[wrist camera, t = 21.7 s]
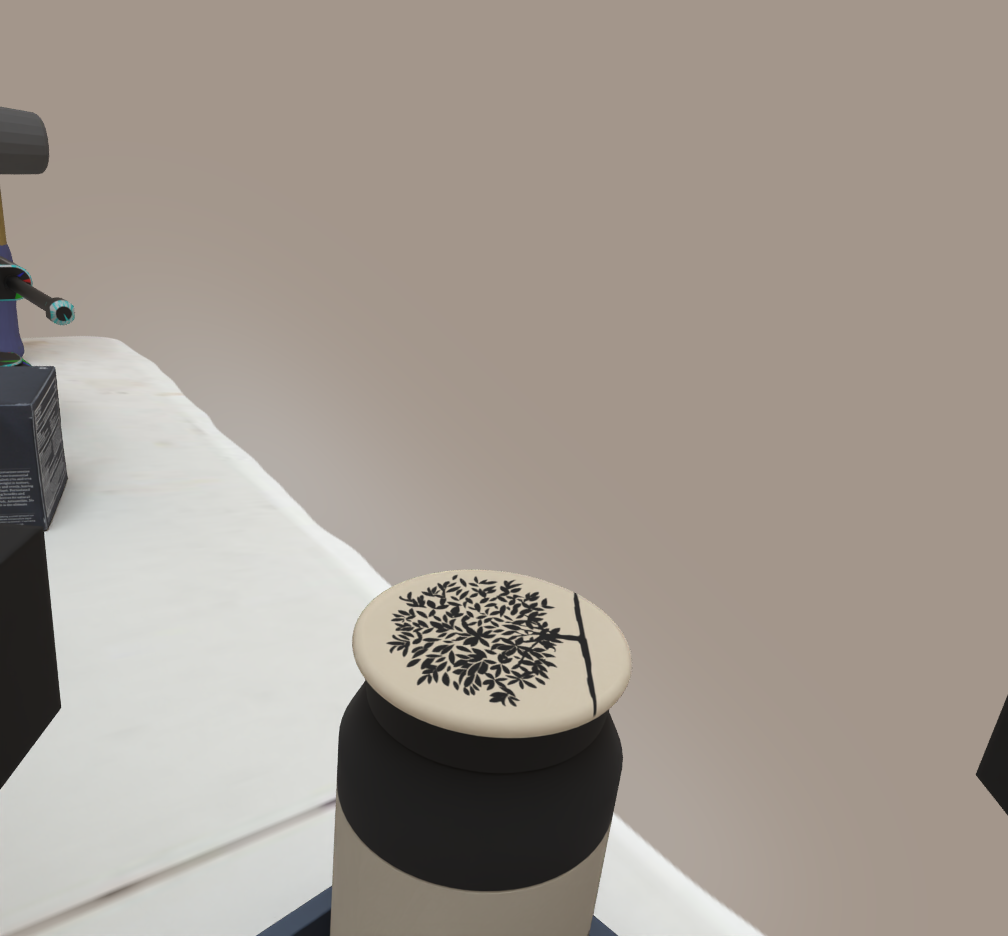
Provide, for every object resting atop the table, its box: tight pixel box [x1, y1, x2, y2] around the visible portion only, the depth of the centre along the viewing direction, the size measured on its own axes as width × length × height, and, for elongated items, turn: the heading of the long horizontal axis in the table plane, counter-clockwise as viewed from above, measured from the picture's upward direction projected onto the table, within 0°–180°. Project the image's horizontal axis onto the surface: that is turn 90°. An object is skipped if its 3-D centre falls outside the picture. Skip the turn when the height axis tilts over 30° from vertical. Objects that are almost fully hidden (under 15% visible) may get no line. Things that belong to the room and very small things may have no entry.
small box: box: [0, 366, 68, 530], centre depth 65 cm, size 11×6×10 cm, turn 18°
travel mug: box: [330, 570, 632, 936], centre depth 25 cm, size 8×8×18 cm
